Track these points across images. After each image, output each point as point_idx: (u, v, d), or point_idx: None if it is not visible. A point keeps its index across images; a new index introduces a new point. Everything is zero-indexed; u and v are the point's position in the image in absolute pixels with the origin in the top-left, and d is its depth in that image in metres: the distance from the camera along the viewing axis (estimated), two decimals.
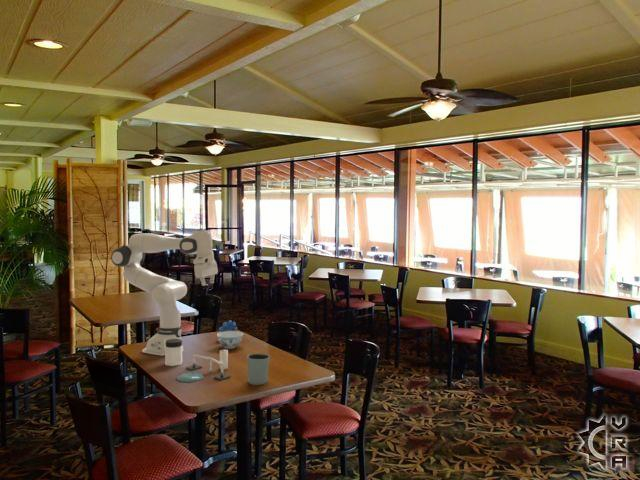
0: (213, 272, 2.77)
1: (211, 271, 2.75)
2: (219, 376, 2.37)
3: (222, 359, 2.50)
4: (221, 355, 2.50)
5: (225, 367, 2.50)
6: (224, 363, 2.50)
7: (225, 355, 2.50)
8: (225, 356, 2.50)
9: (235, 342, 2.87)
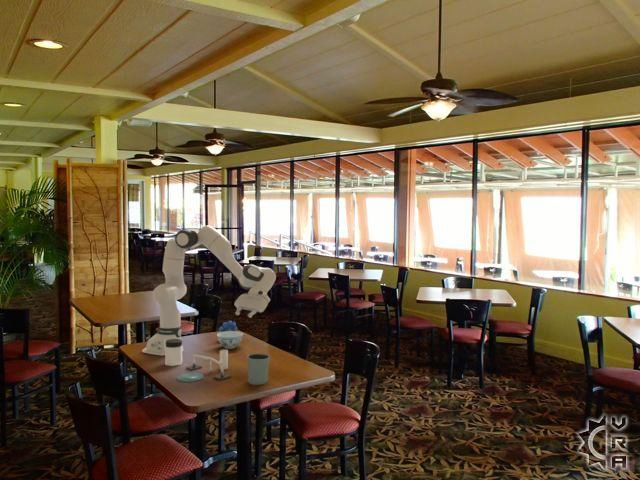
0: None
1: None
2: (219, 376, 2.37)
3: (222, 359, 2.50)
4: (221, 355, 2.50)
5: (225, 367, 2.50)
6: (224, 363, 2.50)
7: (225, 355, 2.50)
8: (225, 356, 2.50)
9: (235, 342, 2.87)
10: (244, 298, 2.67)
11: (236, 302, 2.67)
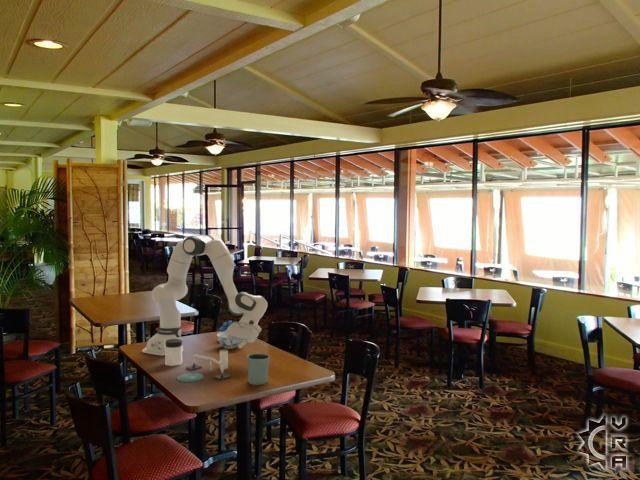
0: None
1: None
2: (219, 376, 2.37)
3: (222, 359, 2.50)
4: (221, 355, 2.50)
5: (225, 367, 2.50)
6: (224, 363, 2.50)
7: (225, 355, 2.50)
8: (225, 356, 2.50)
9: (235, 342, 2.87)
10: (235, 327, 2.63)
11: (227, 331, 2.63)
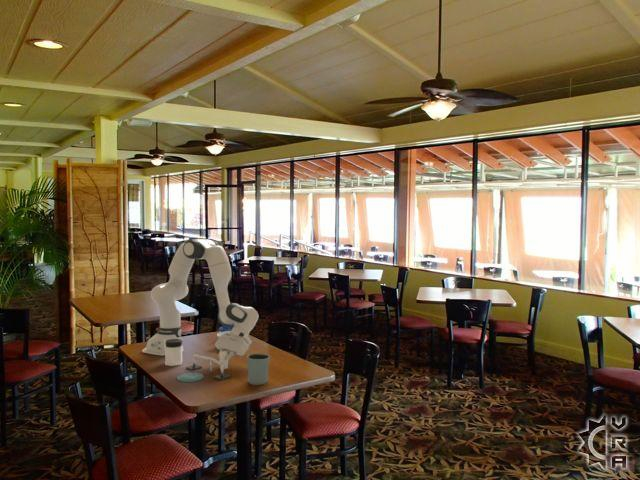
0: None
1: None
2: (219, 376, 2.37)
3: (222, 359, 2.50)
4: (221, 355, 2.50)
5: (225, 367, 2.50)
6: (224, 363, 2.50)
7: (225, 355, 2.50)
8: (225, 356, 2.50)
9: None
10: (225, 339, 2.58)
11: (217, 343, 2.59)
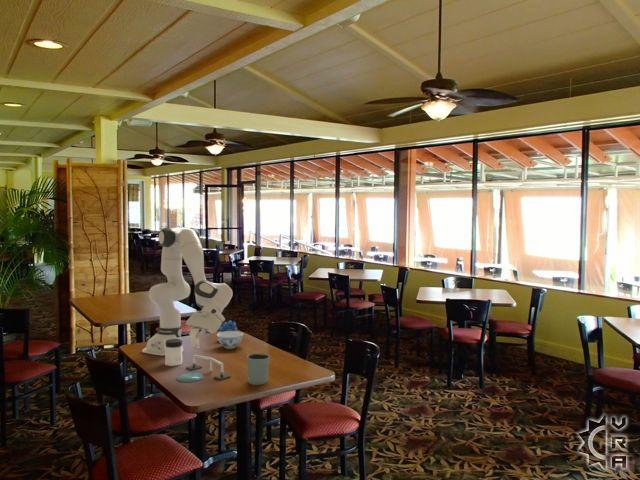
0: None
1: None
2: (219, 376, 2.37)
3: (193, 337, 2.36)
4: (192, 333, 2.36)
5: (196, 346, 2.36)
6: (195, 341, 2.36)
7: (196, 333, 2.36)
8: (196, 334, 2.36)
9: (235, 342, 2.87)
10: (197, 317, 2.44)
11: (188, 321, 2.44)
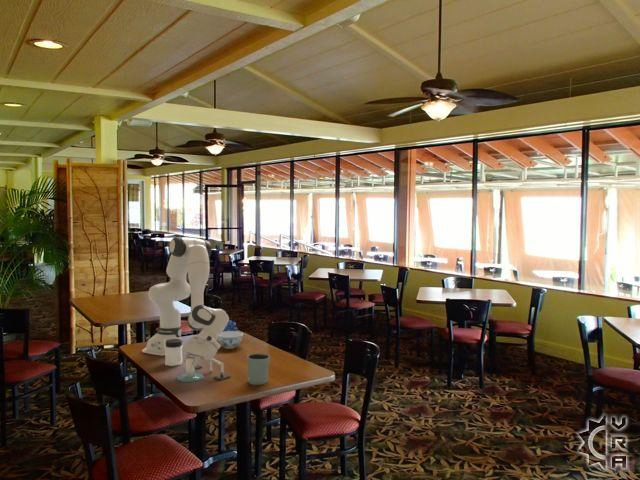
0: None
1: None
2: (219, 376, 2.37)
3: (188, 367, 2.34)
4: (187, 363, 2.34)
5: (191, 375, 2.35)
6: (190, 371, 2.34)
7: (191, 363, 2.35)
8: (191, 364, 2.34)
9: (235, 342, 2.87)
10: (192, 343, 2.43)
11: (183, 347, 2.43)
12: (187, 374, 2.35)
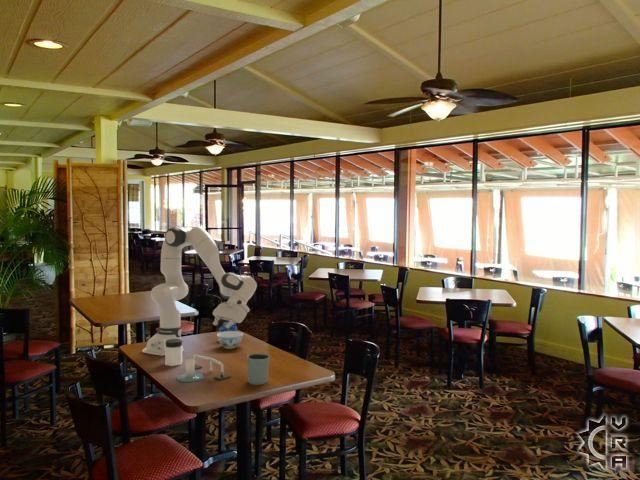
0: None
1: None
2: (219, 376, 2.37)
3: (188, 367, 2.34)
4: (187, 363, 2.34)
5: (191, 375, 2.35)
6: (190, 371, 2.35)
7: (191, 363, 2.35)
8: (191, 364, 2.34)
9: (235, 342, 2.87)
10: (223, 307, 2.57)
11: (214, 311, 2.57)
12: (187, 374, 2.35)
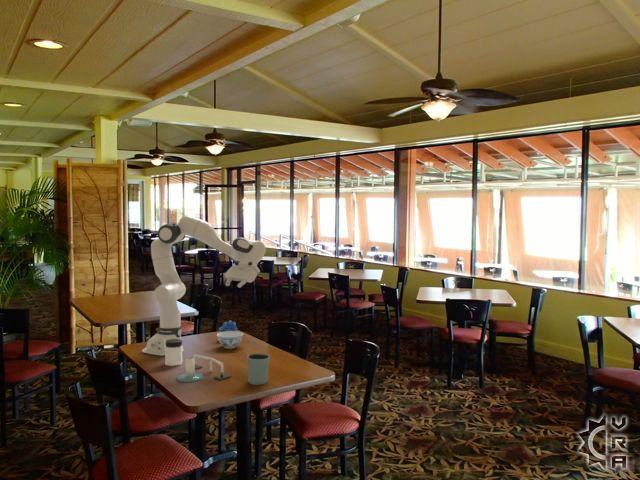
0: None
1: None
2: (219, 376, 2.37)
3: (188, 367, 2.34)
4: (187, 363, 2.34)
5: (191, 375, 2.35)
6: (190, 371, 2.35)
7: (191, 363, 2.35)
8: (191, 364, 2.34)
9: (235, 342, 2.87)
10: (234, 269, 2.72)
11: (226, 273, 2.73)
12: (187, 374, 2.35)
